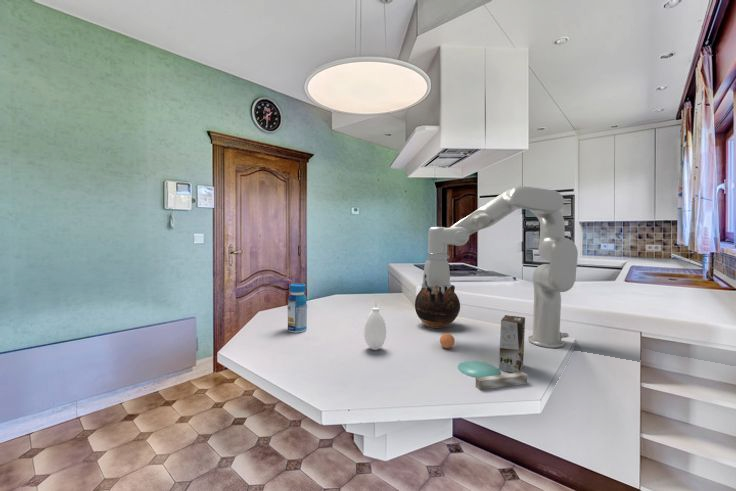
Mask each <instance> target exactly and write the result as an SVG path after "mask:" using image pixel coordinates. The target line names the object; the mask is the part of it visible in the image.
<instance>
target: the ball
mask: <svg viewBox="0 0 736 491" xmlns="http://www.w3.org/2000/svg"><path fill="white" fill-rule="evenodd" d="M455 342H456V341H455V337H454V336H453V335H452V334H451V333H448V332H447V333H443V334H442V335H441V336H440V338H439V343H440V346H442V348H445V349H451V348H453V347H454V346H455Z"/></svg>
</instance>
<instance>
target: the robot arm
mask: <svg viewBox="0 0 736 491" xmlns="http://www.w3.org/2000/svg"><path fill="white" fill-rule="evenodd" d="M564 203H565V199H564V197H563V194H561V193H560V192H558V191H557V190H554V189H547V188H540V187H532V186H525V185H524V186H523V185H519V186H514V187H511V188H509V189H507V190H504V191H503V192H502V193H501V194H499V195H497V196H496V197H495V198H492V199H491V200H489V201H488V202H486V203H485V204H484V205H482V206H481V207H478V209H476V210H475V211H473V212H471V213H470V214H469V215H467V216H466V217H464V218H461V219H460V220H459V221H457V222H456V223H454V224H453V225H451V226H450V227H445V226H431V227H429V228H428V233H427V234H428V238H427V240H428V241H427V243H428V244H427V260H426V261H425V262H424V266H423V274H422V275H423V276H422V283H423V284H421V288H424V289H426V290H427V291H428V292H429V293H430V299H429V300H430V303H432V304H435V294H434V289H435V286H439V293H437V302H438V303H440V304H442V301H443V294H444V293H445V291H446V290H447V289H448V288H450V287H451V285H452V284H451V282H450V280H451V273H450V272H451V271H450V267H449V261H448V259H450V257H451V256H450V255H449V254H448V245H450V246H457V247H460V246H463V245H464V246H465V245H466V244H467V242H468V241H469V239H470V236H471V235H473V234H475V233H476V232H478V231H480V230H484V229H486V228H490V227H492V226H494V225H495V224H497V223H499V222H500V221H501V220H503V219H504V218H506V217H507V216H509V215H511V214H512V213H514V212H515V211H516V210H519V209H520V210H526V211H530V212H531V213H532V214H533V215H535V217H536V218H537V219H538V221H539V222H538V223H539V229H540V230H539V240H538V241H539V242H538V255H539V257H541V258H542V259H543V260H545V261H548V262H549V263H543V264H540V265H538V266H537V267H536V268H535V269H534V271H533V272H532V284H533V318H532V320H533V321H532V335H529V336H528V337H527V340H528V342H529V343H531V344H533V345H535V346H539V347H543V348H550V349H553V348H554V349H558V348H563V347H564V346H565V344H564V341H563V340H562V339H564V338H566V339H567V338H569V337H570V336H569V333H568V332H561V331H560V329H561V309H562V297H561V296H562V295H561V293H566V292H568V291H569V290H571V289H572V288H573V287H574V284H575V281H576V277H577V269H578V268H577V267H578V254H579V253H578V246H577V245H576V243H575V242H574V241H573V240H572V239H570V238H568V237H565V234H566V233H565V232H566V231H565V230H566V229H565V227H566V226H565V223H566V222H565V219H564V216H563V214H562V212H561V211H560V210H561V209H562V208H563V207H564ZM427 285H428V286H429V287H427Z"/></svg>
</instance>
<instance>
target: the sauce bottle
mask: <svg viewBox="0 0 736 491" xmlns="http://www.w3.org/2000/svg"><path fill="white" fill-rule="evenodd" d="M363 334H364V340H365V343H366V345H367V346H368V348H370V349H371V350H373V351H377V350H380V348H382V347H383V346H384V344H385V341H386V338H387V336H386V335H387V326H386V323H385V319H384V316H383V314H382V312H381V310H380V308H379V307H377V301H375V303H374V307H372V308H371V311H370V312H369V314H368V316H367V318H366V321H365V323H364V333H363Z"/></svg>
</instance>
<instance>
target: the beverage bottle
mask: <svg viewBox="0 0 736 491" xmlns="http://www.w3.org/2000/svg"><path fill="white" fill-rule="evenodd" d="M289 293H290V294H289V296H288V298H287V303H288V304H287V331H288V332H289V333H296V334H299V333H303V332H305V331H307V327H308V325H307V321H308V317H307V316H308V304H307V301H308V298H307V295H306V294H305V293H306V284H305V283H291V284H289Z"/></svg>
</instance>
